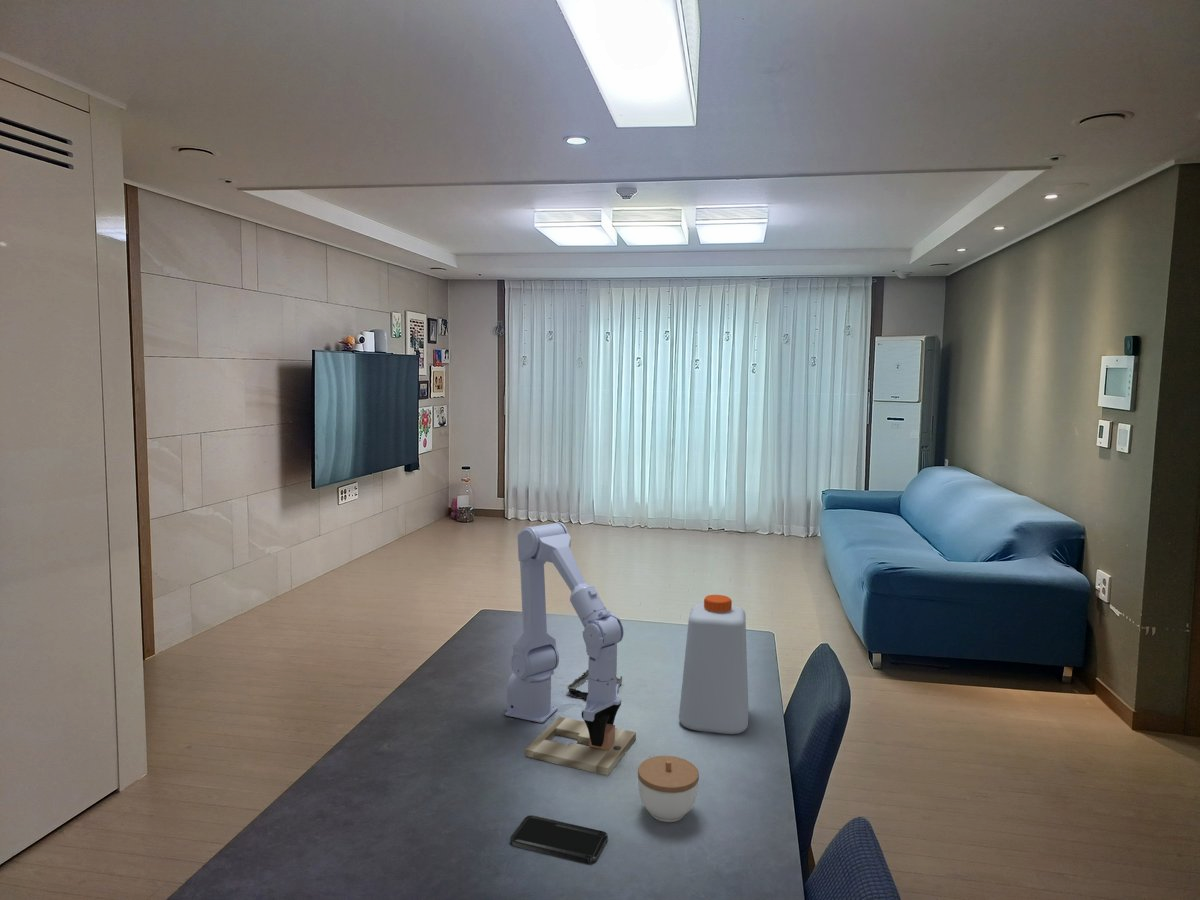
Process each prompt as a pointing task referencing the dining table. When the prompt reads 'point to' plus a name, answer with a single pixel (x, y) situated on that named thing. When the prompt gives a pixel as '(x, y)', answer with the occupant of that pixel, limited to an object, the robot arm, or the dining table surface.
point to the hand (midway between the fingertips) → (601, 740)
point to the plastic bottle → (715, 668)
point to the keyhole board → (579, 747)
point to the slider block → (606, 738)
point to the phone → (559, 839)
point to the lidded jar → (667, 787)
